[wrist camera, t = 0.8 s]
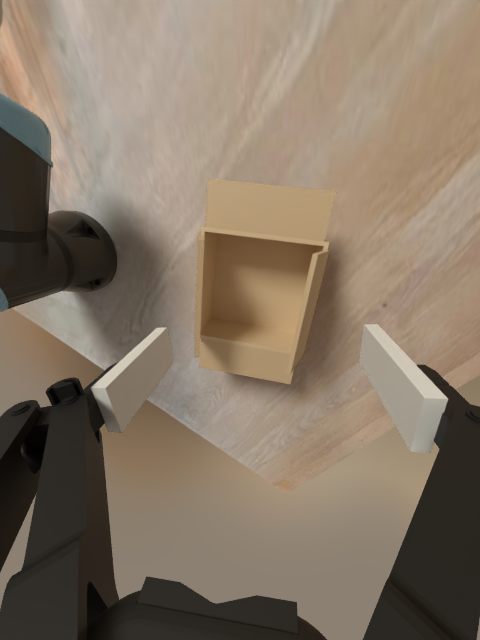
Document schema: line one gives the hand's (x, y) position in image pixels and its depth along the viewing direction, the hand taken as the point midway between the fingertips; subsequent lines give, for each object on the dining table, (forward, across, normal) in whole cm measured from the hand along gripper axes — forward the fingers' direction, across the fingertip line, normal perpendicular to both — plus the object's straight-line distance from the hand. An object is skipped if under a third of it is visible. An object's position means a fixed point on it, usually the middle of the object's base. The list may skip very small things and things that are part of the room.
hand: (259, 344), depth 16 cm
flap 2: (+20, +6, -5) cm, 22 cm away
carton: (+29, -2, -3) cm, 29 cm away
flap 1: (+21, -11, -1) cm, 23 cm away
